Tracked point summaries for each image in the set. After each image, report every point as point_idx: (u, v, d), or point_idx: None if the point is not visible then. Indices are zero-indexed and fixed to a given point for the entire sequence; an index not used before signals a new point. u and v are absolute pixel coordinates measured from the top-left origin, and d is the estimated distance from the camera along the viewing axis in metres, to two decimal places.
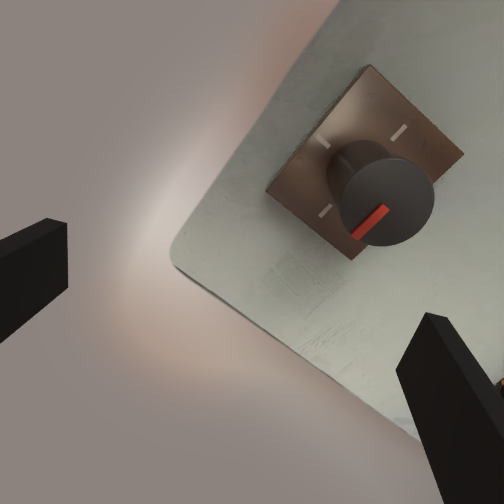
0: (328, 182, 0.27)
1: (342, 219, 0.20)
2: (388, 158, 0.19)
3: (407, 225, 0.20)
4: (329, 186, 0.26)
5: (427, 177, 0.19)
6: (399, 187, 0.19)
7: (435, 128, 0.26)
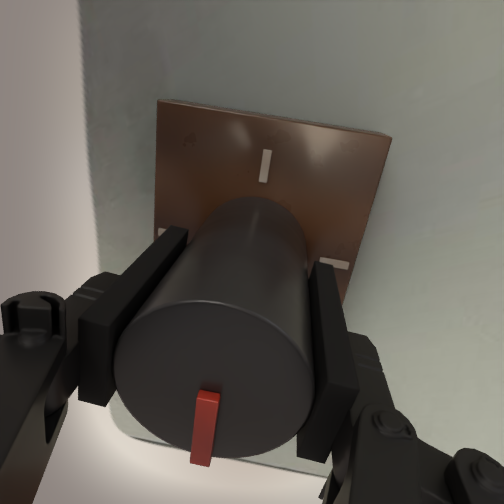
0: None
1: (159, 437, 0.10)
2: (145, 312, 0.08)
3: (281, 406, 0.09)
4: None
5: (244, 312, 0.08)
6: (206, 351, 0.08)
7: (317, 128, 0.14)
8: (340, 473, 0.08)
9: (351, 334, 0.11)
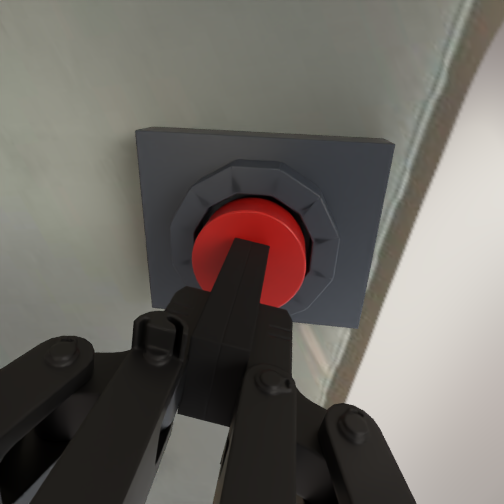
0: None
1: None
2: None
3: None
4: None
5: None
6: None
7: None
8: None
9: (271, 307, 0.11)
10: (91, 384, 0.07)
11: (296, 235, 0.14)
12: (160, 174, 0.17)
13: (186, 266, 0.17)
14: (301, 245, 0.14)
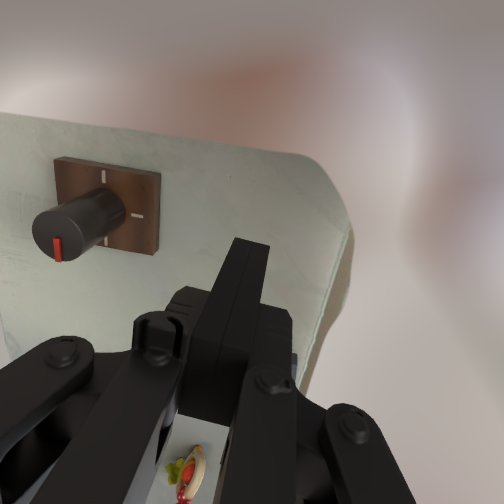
0: None
1: None
2: (38, 215, 0.32)
3: (75, 241, 0.33)
4: None
5: (61, 214, 0.32)
6: (54, 225, 0.33)
7: (152, 232, 0.42)
8: None
9: (271, 307, 0.11)
10: (91, 384, 0.07)
11: None
12: None
13: None
14: None
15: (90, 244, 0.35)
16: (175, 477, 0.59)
